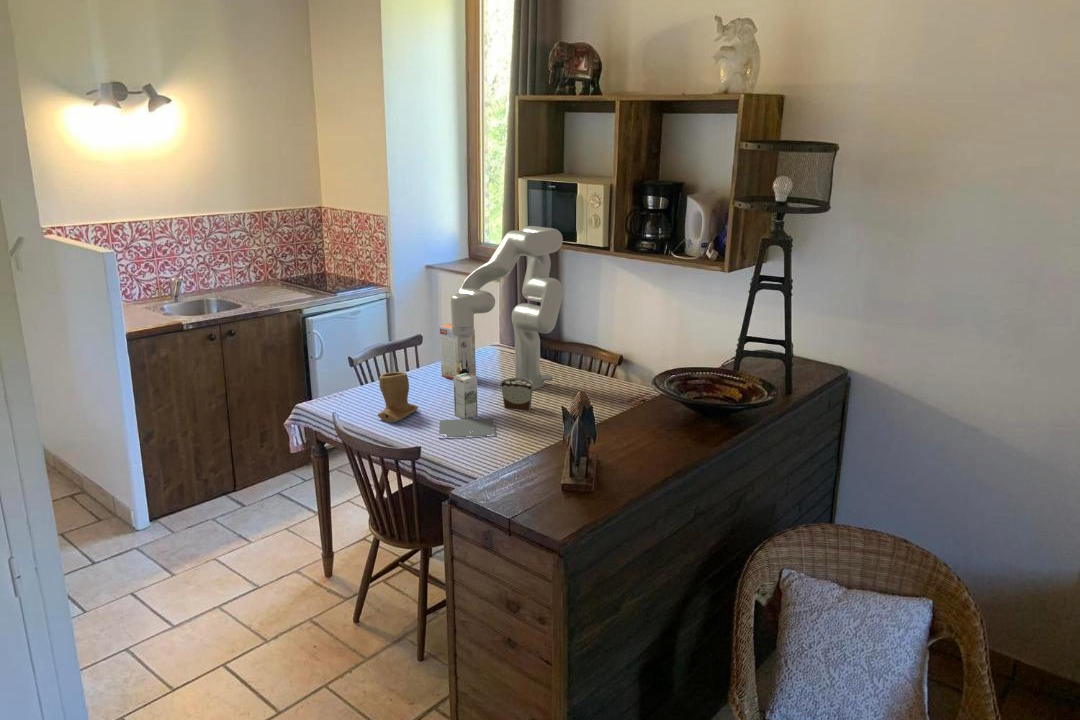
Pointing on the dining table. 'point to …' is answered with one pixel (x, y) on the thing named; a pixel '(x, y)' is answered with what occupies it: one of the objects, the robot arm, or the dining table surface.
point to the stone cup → (395, 396)
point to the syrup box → (465, 395)
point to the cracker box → (453, 353)
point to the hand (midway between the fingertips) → (464, 380)
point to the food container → (517, 393)
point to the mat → (467, 427)
